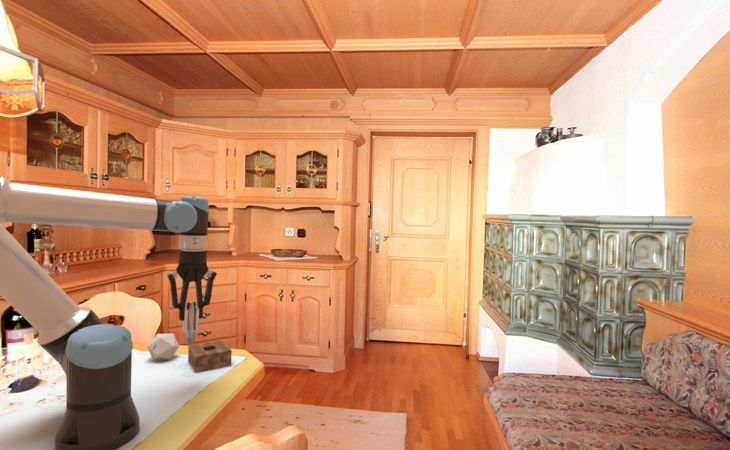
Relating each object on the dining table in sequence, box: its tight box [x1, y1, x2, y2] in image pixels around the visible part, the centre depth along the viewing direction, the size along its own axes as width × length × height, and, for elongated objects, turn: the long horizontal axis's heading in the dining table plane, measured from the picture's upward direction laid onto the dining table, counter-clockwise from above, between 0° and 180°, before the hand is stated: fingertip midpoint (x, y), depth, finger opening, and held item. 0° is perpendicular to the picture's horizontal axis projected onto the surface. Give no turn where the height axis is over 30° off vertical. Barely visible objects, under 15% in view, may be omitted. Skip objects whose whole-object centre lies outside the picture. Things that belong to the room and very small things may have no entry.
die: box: [146, 333, 180, 361], centre depth 128 cm, size 8×9×10 cm
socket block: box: [187, 340, 233, 373], centre depth 125 cm, size 11×11×5 cm
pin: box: [185, 300, 197, 346], centre depth 110 cm, size 2×2×12 cm
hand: (190, 330), depth 110 cm, fingers closed on pin, 2 cm apart
